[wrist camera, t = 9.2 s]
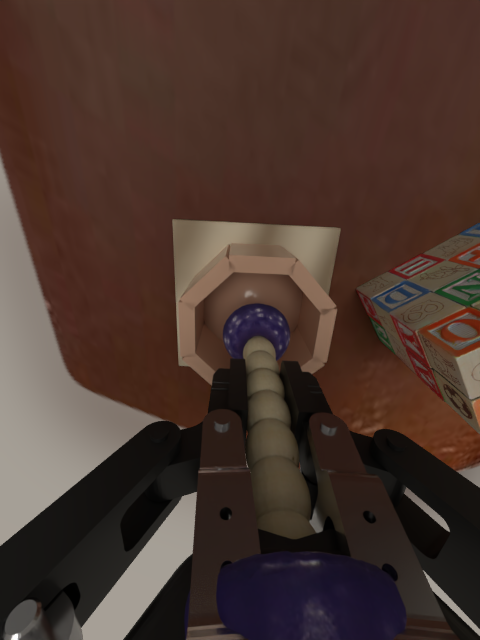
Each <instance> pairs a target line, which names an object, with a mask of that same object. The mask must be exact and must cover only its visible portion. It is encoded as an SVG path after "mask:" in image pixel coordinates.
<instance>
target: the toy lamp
mask: <svg viewBox="0 0 480 640" xmlns="http://www.w3.org/2000/svg"><path fill="white" fill-rule="evenodd" d="M223 341H224V345H225V348H226V350H227V351H228V353H229V354H230V356H231V357H232V358H236V359H245V363H246V381H247V398H248V418H247V431H248V436H247V439H246V444H245V454H246V461H247V465H248V468H249V469H250V472H251V480H252V488H253V496H254V504H255V512H256V520H257V527H258V529H261V530H264V531H268V532H271V533H274V534H277V535H280V536H284V537H287V538H290V539H299V538H302V537H305V536H309V535H312V534H315V533H316V532H315V530H314V528H313V527H312V525H311V524H310V523H309V521H310V516H311V499H310V492H309V489H308V486H307V483H306V481H305V479H304V477H303V475H302V473H301V472H300V470H299V469H298V467H299V449H298V444H297V441H296V439H295V437H294V435H293V433H292V432H291V430H290V429H291V415H290V410H289V407H288V405H287V403H286V402H285V400H284V396H285V391H284V385H283V383H282V380H281V379H280V377H279V374H280V371H279V365H278V363H277V360H279V359H280V358H281V357H282V355H283V354H284V353H285V351H286V350H287V347H288V345H289V341H290V328H289V325H288V322H287V320H286V318H285V316H284V315H283V314H282V313H281V312H280V311H279V310H278V309H276V308H274V307H272V306H270V305H265V304H260V303H254V304H247V305H244V306H242V307H240V308H238V309H237V310H235V311H234V312H233V313H232V314H231V315H230V316H229V317H228V319H227V320H226V322H225V325H224V328H223ZM395 581H396V580H395V579H394V578H393V577H391V576H390V575H389V574H388V573H387V572H385V571H383V570H381V569H380V568H379V567H377V566H376V565H373V564H370V563H367V562H365V561H363V560H357V559H355V558H352V557H349V556H345V555H335V554H330V553H324V552H308V551H306V552H295V553H291V552H289V551H280V552H273V553H268V554H255V555H252V556H249V557H247V558H243V559H240V560H237V561H235V562H234V563H231V564H227V565H225V566H223V567H222V568H221V569H220V573H219V574H218V580H217V591H216V600H217V609H218V613H219V617H220V619H221V621H222V622H223V624H224V625H225V626H226V627H227V628H229V629H231V630H234V631H236V632H238V633H240V634H241V635H243V636H244V637H246V638H247V639H248V640H393V639H394V638H395V637H396V635H397V634H398V633H400V632H401V631H403V630H404V628H405V626H406V622H407V616H406V609H405V606H404V603H403V601H402V598H401V596H400V593H399V591H398V589H397V586H396V584H395ZM189 601H190V591H189V594H188V598H187V602H186V607H185V615H184V622H185V640H186V637H187V628H188V616H189Z"/></svg>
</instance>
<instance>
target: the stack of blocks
mask: <svg viewBox="0 0 480 640" xmlns="http://www.w3.org/2000/svg"><path fill="white" fill-rule="evenodd" d="M356 291H357V293H358V295H359V297H360V300H361V302H362V304H363V306H364V308H365V310H366V312H367V314H368V315H369V317H370V320H371V322H372V324H373V326H374V329H375V331H376V333H377V335H378V337H379V339H380V341H381V342H382V343H383V344H384V345H385V346H387V347H388V348H389V349H390V350H391V351H392V352H393V353H394V354H395V355H397V356H398V357H399V358H400V359H401V360H402V361H403V362H404V363H405V364H406V365H407V366H408V367H409V368H410V369H411V370H412V371H413V372H414V373H415V374H417V376H418V377H419V378H420V379H421V380H422V381H423V382H424V383H425V384H426V385H427V386H428V387H429V388H430V389H431V390H432V391H433V392H435V393H436V394H437V396H438V397H440V398H441V399H442V400H443V401H444V402H446V403H447V404H449V405H450V406H451V407H452V408H453V409H454V410H455V411H456V412H457V413H458V414H459V415H460V416H461V417H462V418H463V419H464V420H465V421H466V422H467V423H468V424H469V425H470V426H471V427H473V428H474V429H475V430H476V431H477V432H478V433H479V434H480V223H478V224H476V225H474V226H473V227H471V228H469V229H467V230H465V231H463V232H461V233H460V234H459V235H457V236H454V237H453V238H451V239H449V240H447V241H445V242H443V243H441V244H440V245H438V246H436V247H434V248H432V249H430V250H429V251H427V252H425V253H423V254H420V255H418V256H416V257H414V258H412V259H410V260H408V261H407V262H405V263H403V264H401V265H399V266H397V267H395V268H393V269H392V270H390V271H388V272H386V273H384V274H382V275H380V276H378V277H376V278H374V279H372V280H370V281H369V282H367V283H365V284H363V285H361V286H359V287H357V288H356Z"/></svg>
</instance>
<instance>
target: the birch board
mask: <svg viewBox="0 0 480 640" xmlns="http://www.w3.org/2000/svg"><path fill="white" fill-rule="evenodd" d="M172 221H173V244H174V267H175V289H176V312H177V335H178V358H179V366H189V365H188V364H187V363H185V362H184V361H183V360H182V358H183V357H181V356H180V331H179V306H178V302H179V300H180V298H181V296H182V295H183V293H184V292H185V290H186V288H187V287H188V285H189V284H190V282H191V281H192V279H193V278H194V276H195V275H196V274H197V273H199V272H200V271H201V270H202V269H203V268H204V267H205V266H206V265H207V264H208V263H209V262H210V261H211V260H212V259H213V258H214V257H215V256H216V255H217V254H219V253H220V252H221V251H222V250H223V249H224V248H225V247H226V246H227V245H228V244H229V245H230V246H231V243H243V244H262V245H281V246H282V247H284V248H285V249H286V250H288V251H289V252H290V253H291V254H293V255H294V256H295V257H296V258H297V259H299V260H300V262H301V263H302V264H303V265H304V267H305V268H306V269H307V270H308V272H309V273H310V274H311V275H312V276H313V278H314V279H315V280H316V281H317V283H318V284H319V285H320V286H321V288H322V289H323V290H324V291H325V292H326V294H327V295H329V290H330V284H331V279H332V274H333V268H334V263H335V257H336V252H337V246H338V241H339V236H340V230H341V228H335V227H316V226H297V225H278V224H259V223H240V222H222V221H203V220H184V219H173V220H172Z"/></svg>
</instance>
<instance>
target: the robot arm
mask: <svg viewBox="0 0 480 640" xmlns="http://www.w3.org/2000/svg"><path fill="white" fill-rule="evenodd" d="M279 377H280V379H281V380H282V383H283V385H284V391H285V396H284V400H285V402H286V403H287V405H288V407H289V410H290V415H291V429H290V430H291V432H292V433H293V435H294V437H295V439H296V441H297V444H298V449H299V462H300V472H301V473H302V475H303V477H304V479H305V481H306V483H307V486H308V489H309V492H310V499H311V516H310V521H309V523H310V524H311V525H312V527H313V528H314V530H315V532H316V533H315V534H312V535H309V536H305V537H302V538H299V539H290V538H287V537H284V536H280V535H277V534H274V533H271V532H268V531H264V530H261V529H258V527H257V520H256V512H255V504H254V496H253V488H252V480H251V473H250V469H249V468H247V465H246V456H245V443H246V430H247V418H248V398H247V381H246V363H245V359H236V358H230V369H224V368H218V370H217V371H216V372H215V373H214V374H213V380H212V387H211V394H210V401H209V408H208V414H207V415H206V416H205V417H204V420H203V421H202V422H201V423H200V424H198V425H196V426H194V427H191V428H187V429H182V430H180V428H179V427H178V426H177V425H176V424H174V423H172V422H169V421H158V422H154V423H152V424H150V425H148V426H146V427H145V428H144V429H143V430H141V431H140V432H139V433H137V434H136V435H135V436H134V437H133V438H131V439H130V440H129V441H128V442H127V443H125V444H124V445H123V446H122V447H120V448H119V449H118V450H117V451H116V452H114V453H113V454H112V455H111V456H109V457H108V458H107V459H106V460H105V461H103V462H102V463H101V464H100V465H98V466H97V467H96V468H95V469H94V470H92V471H91V472H90V473H89V474H88V475H87V476H85V477H84V478H83V479H81V480H80V481H79V482H78V483H77V484H75V485H74V486H73V487H72V488H70V489H69V490H68V491H67V492H66V493H64V494H63V495H62V496H61V497H60V498H58V499H57V500H56V501H55V502H53V503H52V504H51V505H50V506H49V507H47V508H46V509H45V510H44V511H42V512H41V513H40V514H39V515H38V516H36V517H35V518H34V519H33V520H32V521H30V522H29V523H28V524H27V525H25V526H24V527H23V528H22V529H21V530H19V531H18V532H17V533H16V534H14V535H13V536H12V537H11V538H10V539H9V540H7V541H6V542H5V543H3V545H1V546H0V640H83V635H82V630H81V627H82V626H83V625H84V623H85V622H86V621H87V620H88V618H89V617H90V616H91V614H92V613H93V612H94V611H95V609H96V608H97V607H98V605H99V604H100V603H101V602H102V600H103V599H104V598H105V596H106V595H107V594H108V593H109V591H110V590H111V589H112V587H113V586H114V585H115V583H116V582H117V581H118V580H119V578H120V577H121V576H122V575H123V573H124V572H125V571H126V569H127V568H128V567H129V565H130V564H131V563H132V562H133V560H134V559H135V558H136V557H137V555H138V554H139V553H140V551H141V550H142V549H143V548H144V546H145V545H146V544H147V542H148V541H149V540H150V539H151V537H152V536H153V535H154V533H155V532H156V531H157V530H158V528H159V527H160V526H161V524H162V523H163V522H164V521H165V519H166V518H167V517H168V515H169V514H170V513H171V512H172V510H173V509H174V508H175V506H176V505H177V504H178V503H179V501H180V499H181V497H182V496H184V495H188V494H191V493H194V492H197V501H196V515H195V530H194V545H193V554H192V555H190V556H189V557H188V558H187V559H186V560H185V561H184V562H183V563H182V564H181V565H180V566H179V567H178V569H177V570H176V571H175V572H174V574H173V575H172V577H171V578H170V579H169V580H168V582H167V583H166V584H165V585H164V587H163V588H162V589H161V591H160V592H159V593H158V595H157V596H156V597H155V599H154V600H153V601H152V603H151V604H150V605H149V606H148V608H147V609H146V610H145V612H144V613H143V614H142V616H141V617H140V618H139V620H138V621H137V622H136V624H135V625H134V626H133V628H132V629H131V630H130V632H129V633H128V634H127V635H126V637H125V638H124V639H123V640H185V622H184V615H185V607H186V602H187V598H188V594H189V591H190V601H189V616H188V628H187V637H186V640H248V639H247V638H246V637H244V636H243V635H241V634H240V633H238V632H236V631H234V630H231V629H229V628H227V627H226V626H225V625H224V624H223V622H222V621H221V619H220V617H219V613H218V609H217V600H216V591H217V580H218V574H219V573H220V569H221V568H222V567H223V566H225V565H227V564H231V563H234V562H235V561H237V560H240V559H243V558H247V557H249V556H252V555H255V554H268V553H273V552H280V551H289V552H291V553H295V552H306V551H308V552H324V553H330V554H335V555H345V556H349V557H352V558H355V559H357V560H363V561H365V562H367V563H370V564H373V565H376V566H377V567H379V568H380V569H381V570H383V571H385V572H387V573H388V574H389V575H390V576H391V577H393V578H394V579H395V580H396V581H395V584H396V586H397V589H398V591H399V593H400V596H401V598H402V601H403V603H404V606H405V609H406V616H407V622H406V626H405V628H404V630H403V631H401V632H400V633H398V634H397V635H396V637H395V638H394V639H393V640H480V636H479V635H478V634H477V633H476V632H475V631H474V630H472V628H470V626H468V625H467V624H466V623H465V622H464V621H463V620H462V619H461V618H460V617H459V616H458V615H457V614H456V613H455V612H454V611H453V610H452V609H451V608H450V607H449V606H447V604H446V603H445V602H444V601H442V600H441V599H440V598H439V597H438V596H437V595H436V594H435V593H434V592H433V591H432V589H431V587H430V585H429V583H428V580H427V578H426V576H425V574H424V572H423V570H424V571H425V572H426V573H427V574H428V575H429V576H430V578H432V580H433V581H434V582H435V583H436V584H437V585H438V586H439V587H440V588H441V589H442V590H443V591H444V592H445V593H446V594H447V595H448V596H449V597H450V598H451V599H452V600H453V602H454V603H455V604H456V605H457V606H458V607H459V608H460V609H461V610H462V611H463V612H464V613H465V614H466V615H467V616H468V617H469V618H470V619H471V620H472V621H473V622H474V623H475V624H476V625H477V627H478V628H479V629H480V488H479V487H478V486H476V485H475V484H473V483H472V482H471V481H469V480H468V479H466V478H465V477H463V476H462V475H461V474H459V473H458V472H456V471H455V470H453V469H452V468H451V467H449V466H448V465H446V464H445V463H443V462H442V461H441V460H439V459H438V458H436V457H435V456H433V455H432V454H431V453H429V452H428V451H426V450H425V449H423V448H422V447H421V446H419V445H418V444H416V443H415V442H413V441H412V440H411V439H409V438H408V437H406V436H405V435H403V434H401V433H399V432H397V431H394V430H390V429H380V430H377V431H376V432H375V433H374V436H373V438H372V437H368V436H365V435H361V434H357V433H354V432H352V431H349V429H348V427H347V425H346V424H345V422H344V421H343V420H341V419H340V418H339V417H337V416H335V415H333V413H332V411H331V409H330V407H329V405H328V403H327V401H326V398H325V396H324V394H323V392H322V390H321V388H320V386H319V383H318V381H317V379H316V378H315V377H314V376H313V375H312V374H311V373H309V372H302V370H301V367H300V365H299V362H298V361H284V360H282V362H281V367H280V375H279ZM406 487H407V488H408V489H410V490H411V491H412V492H413V493H414V494H415V495H417V496H418V497H419V498H420V499H422V500H423V501H424V502H425V503H426V504H427V505H429V506H430V507H431V508H432V509H433V510H434V511H435V512H437V513H438V514H439V515H440V516H441V517H442V518H443V519H444V520H445V521H446V523H447V525H448V527H449V529H450V532H448V531H446V530H445V529H444V528H443V527H441V526H440V525H439V524H438V523H437V522H436V521H434V520H433V519H432V518H431V517H430V516H429V515H428V514H427V513H425V512H424V511H423V510H422V509H421V508H420V507H419V506H418V505H416V504H415V503H414V502H413V501H412V500H411V499H410V498H408V497H407V496H406V495H405V494H404V492H405V489H406ZM422 569H423V570H422Z"/></svg>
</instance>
